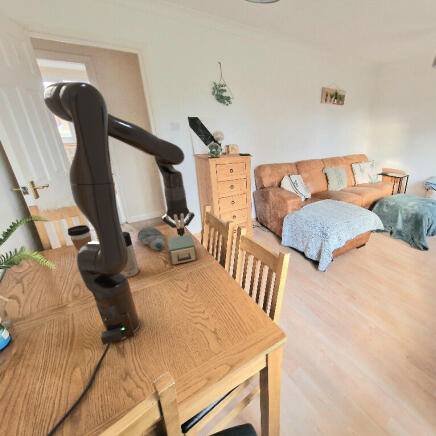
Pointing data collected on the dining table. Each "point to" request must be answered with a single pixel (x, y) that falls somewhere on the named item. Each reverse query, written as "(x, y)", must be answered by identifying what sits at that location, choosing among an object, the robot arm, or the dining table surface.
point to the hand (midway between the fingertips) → (181, 235)
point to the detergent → (151, 237)
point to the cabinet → (180, 244)
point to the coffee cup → (79, 236)
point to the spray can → (130, 257)
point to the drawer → (183, 255)
